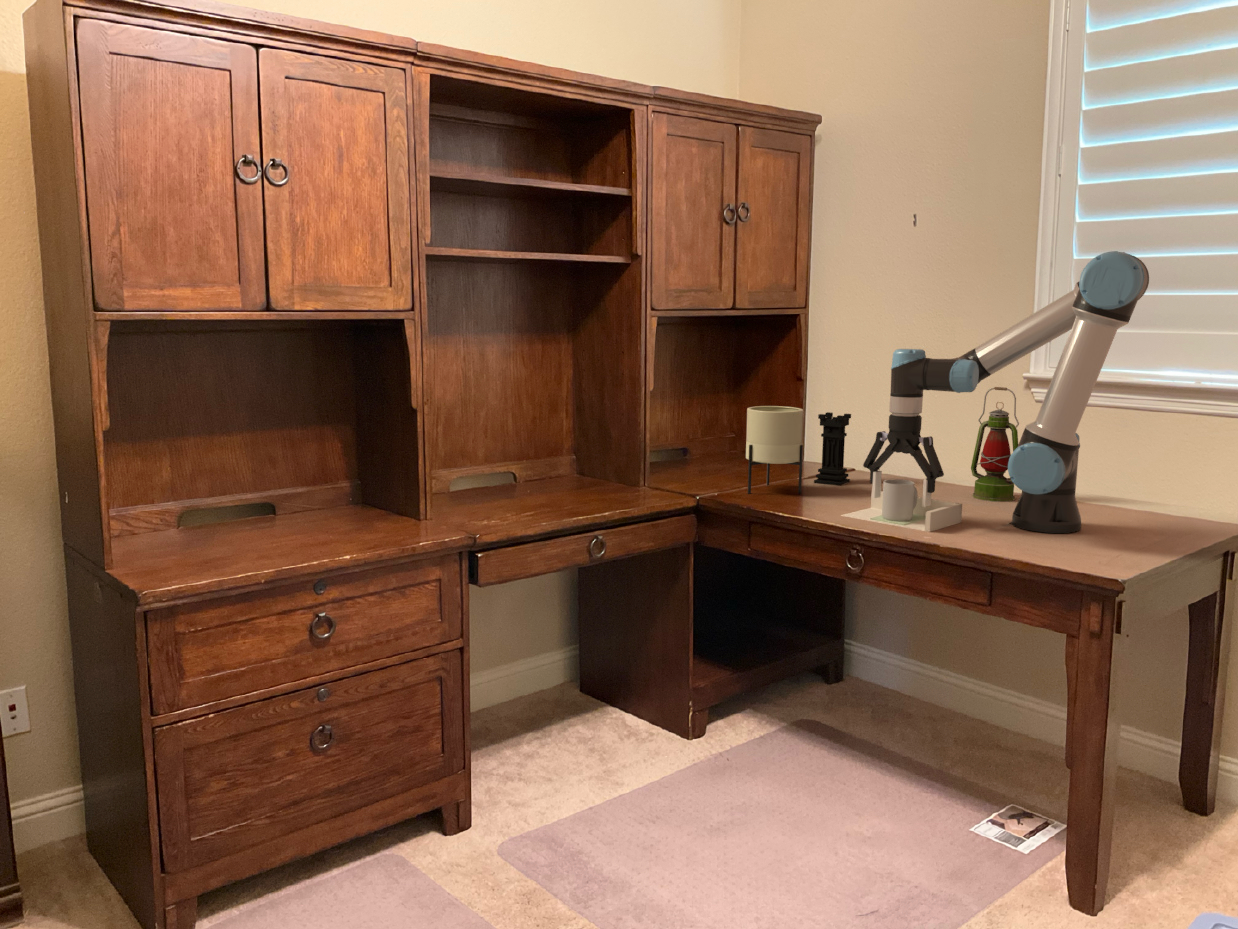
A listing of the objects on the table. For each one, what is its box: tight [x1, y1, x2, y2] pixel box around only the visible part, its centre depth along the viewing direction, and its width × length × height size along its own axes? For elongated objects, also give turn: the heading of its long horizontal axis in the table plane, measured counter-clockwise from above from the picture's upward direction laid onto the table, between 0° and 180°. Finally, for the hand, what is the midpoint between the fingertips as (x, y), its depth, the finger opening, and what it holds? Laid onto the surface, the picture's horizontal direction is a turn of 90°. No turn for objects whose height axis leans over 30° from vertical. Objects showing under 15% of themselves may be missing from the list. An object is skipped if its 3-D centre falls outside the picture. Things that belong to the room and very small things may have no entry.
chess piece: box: [813, 412, 852, 487], centre depth 297 cm, size 8×8×20 cm
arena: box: [840, 490, 963, 533], centre depth 247 cm, size 24×15×5 cm, turn 44°
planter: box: [745, 405, 804, 495], centre depth 282 cm, size 15×16×23 cm
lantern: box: [970, 386, 1020, 503], centre depth 275 cm, size 14×11×30 cm
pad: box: [870, 514, 926, 525], centre depth 247 cm, size 9×12×1 cm
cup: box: [882, 478, 919, 521], centre depth 246 cm, size 7×10×9 cm
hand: (900, 501), depth 247 cm, fingers open, 13 cm apart
